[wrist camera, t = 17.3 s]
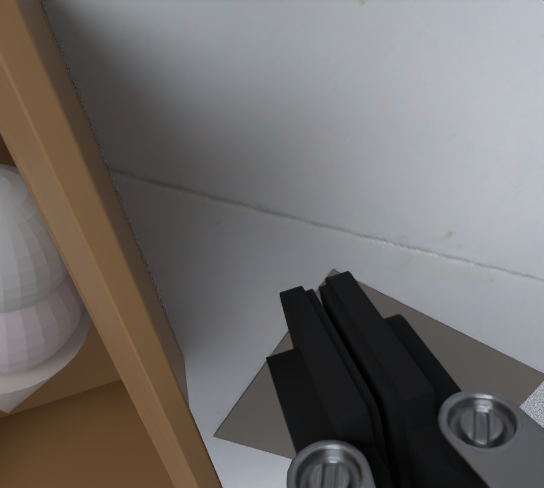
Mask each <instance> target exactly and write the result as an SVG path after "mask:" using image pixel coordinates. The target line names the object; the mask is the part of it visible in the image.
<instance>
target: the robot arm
mask: <svg viewBox="0 0 544 488" xmlns="http://www.w3.org/2000/svg"><path fill="white" fill-rule="evenodd" d="M325 282H326V285H323V286H320V287H319V292H320V297H321V302H322V304H321V302H320V301H319V299H318V297H317V295H316V294H315V292H314V290H313V289H310V290H307V291H305V290H304V288H303V286H299V287H296V288H293V289H290V290H287V291H283V292H280V299H281V303H282V307H283V310H284V314H285V318H286V322H287V326H288V329H289V333H290V337H291V341H292V345H293V349H290V350H287V351H284V352H281V353H278V354H275V355H272V356H269V357H266V360H267V364H268V367H269V370H270V374H271V377H272V380H273V384H274V387H275V390H276V393H277V397H278V400H279V403H280V406H281V409H282V412H283V415H284V419H285V422H286V425H287V428H288V431H289V434H290V437H291V440H292V443H293V446H294V449H295V452H296V457H295V458H294V459H293V460H292V462H291V464H290V467H289V469H288V472H287V488H544V428H543V427H541V426H540V425H539V424H538V423H537V422H536V421H534V420H533V419H532V418H531V417H530V416H529V415H527V414H526V413H525V412H524V411H523V410H522V409H520V408H519V407H518V406H517V405H516V404H515V403H513V402H512V401H510V400H509V399H507V398H506V397H504V396H502V395H500V394H497V393H494V392H491V391H485V390H478V389H477V390H465V391H462V390H461V389H460V388H459V386H458V385H457V384H456V383H455V381H454V380H453V379H452V377H451V376H450V375H449V374H448V372H447V371H446V370H445V369H444V367H443V366H442V365H441V363H440V362H439V361H438V360H437V358H436V357H435V356H434V355H433V353H432V352H431V351H430V349H429V348H428V347H427V346H426V344H425V343H424V342H423V341H422V339H421V338H420V337H419V336H418V334H417V333H416V332H415V330H414V329H413V328H412V327H411V325H410V324H409V323H408V322H407V320H406V319H405V318H404V317H403V316H402V315H400V314H396V315H393V316H390V317H387V318H384V319H383V317H382V316H381V315H380V313H379V312H378V310H377V309H376V308H375V306H374V305H373V303H372V302H371V301H370V299H369V298H368V297H367V295H366V294H365V292H364V291H363V290H362V288H361V287H360V285H359V284H358V283H357V281H356V280H355V279H354V277H353V276H352V274H351V273H350V272H349V271H346V272H343V273H340V274H337V275H334V276H330V277H327V278H326V279H325Z"/></svg>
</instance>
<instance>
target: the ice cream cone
mask: <svg viewBox="0 0 544 488" xmlns="http://www.w3.org/2000/svg"><path fill="white" fill-rule="evenodd" d="M90 321H91V316H90V314H89V312H88V310H87V308H86V306H85V304H84V302H83V300H82V298H81V296H80V294H79V292H78V290H77V288H76V286H75V284H74V282H73V280H72V278H71V276H70V274H69V272H68V269H67V267H66V265H65V263H64V261H63V259H62V257H61V255H60V253H59V251H58V249H57V247H56V245H55V243H54V241H53V239H52V237H51V235H50V233H49V231H48V229H47V227H46V225H45V223H44V221H43V219H42V217H41V215H40V213H39V211H38V209H37V207H36V205H35V203H34V200H33V198H32V196H31V194H30V192H29V190H28V188H27V186H26V184H25V182H24V180H23V178H22V176H21V174H20V172H19V170H18V168H17V167H15V166H12V165H6V164H0V410H2V411H4V412H7V413H9V412H11V411H12V410H13V409H14V408H15V407H17V406H18V405H19V404H20V403H21V402H23V401H24V400H25V399H26V398H27V397H29V396H30V395H31V394H32V393H34V392H35V391H36V390H37V389H38V388H40V387H41V386H42V385H43V384H44V383H46V382H47V381H48V380H49V379H50V378H52V377H53V376H54V375H55V374H56V373H58V372H59V371H60V370H61V369H62V368H64V367H65V366H66V365H67V364H68V363H69V362H70V361H71V360H72V359H73V358H74V357H75V355H76V354H77V352H78V351H79V350H80V348H81V347H82V345H83V344H84V341H85V339H86V336H87V334H88V331H89V328H90Z"/></svg>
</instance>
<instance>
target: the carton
mask: <svg viewBox="0 0 544 488" xmlns="http://www.w3.org/2000/svg"><path fill="white" fill-rule="evenodd" d="M18 1H19V4H20V6H21V8H22V11H23V13H24V15H25V18H26V20H27V23H28V25H29V27H30V30H31V32H32V35H33V37H34V39H35V42H36V44H37V46H38V49H39V51H40V54H41V56H42V58H43V61H44V63H45V66H46V68H47V70H48V73H49V75H50V77H51V80H52V82H53V85H54V87H55V89H56V92H57V94H58V96H59V99H60V101H61V104H62V106H63V108H64V111H65V113H66V116H67V118H68V120H69V123H70V125H71V127H72V130H73V132H74V135H75V137H76V139H77V142H78V144H79V147H80V149H81V151H82V154H83V156H84V158H85V161H86V163H87V166H88V168H89V170H90V173H91V175H92V177H93V180H94V182H95V185H96V187H97V189H98V192H99V194H100V197H101V199H102V201H103V204H104V206H105V208H106V211H107V213H108V216H109V218H110V220H111V223H112V225H113V227H114V230H115V232H116V235H117V237H118V239H119V242H120V244H121V247H122V249H123V251H124V254H125V256H126V258H127V261H128V263H129V266H130V268H131V270H132V273H133V275H134V278H135V280H136V282H137V285H138V287H139V289H140V292H141V294H142V297H143V299H144V301H145V304H146V306H147V308H148V311H149V313H150V316H151V318H152V320H153V323H154V325H155V328H156V330H157V332H158V335H159V337H160V339H161V342H162V344H163V347H164V349H165V351H166V354H167V356H168V359H169V361H170V363H171V366H172V368H173V370H174V373H175V375H176V378H177V380H178V382H179V385H180V387H181V389H182V392H183V394H184V397H185V399H186V401H187V404H188V406H189V400H188V391H187V382H186V372H185V363H184V359H183V356H182V354H181V351H180V349H179V346H178V344H177V341H176V339H175V336H174V334H173V331H172V329H171V326H170V324H169V321H168V319H167V316H166V314H165V311H164V309H163V306H162V304H161V301H160V299H159V296H158V294H157V291H156V289H155V286H154V284H153V281H152V279H151V276H150V274H149V271H148V269H147V266H146V264H145V261H144V259H143V256H142V254H141V251H140V249H139V246H138V244H137V241H136V239H135V236H134V234H133V231H132V229H131V226H130V224H129V221H128V219H127V216H126V214H125V211H124V209H123V206H122V204H121V201H120V199H119V196H118V194H117V191H116V189H115V186H114V184H113V181H112V179H111V176H110V174H109V171H108V169H107V166H106V164H105V161H104V159H103V156H102V154H101V151H100V149H99V146H98V144H97V141H96V139H95V136H94V134H93V131H92V129H91V126H90V124H89V121H88V119H87V116H86V114H85V111H84V109H83V106H82V104H81V101H80V99H79V96H78V94H77V91H76V89H75V86H74V84H73V81H72V79H71V76H70V74H69V71H68V69H67V67H66V64H65V62H64V59H63V57H62V54H61V52H60V49H59V47H58V44H57V42H56V39H55V37H54V34H53V32H52V29H51V27H50V24H49V22H48V19H47V17H46V14H45V12H44V9H43V7H42V4H41V2H40V0H18ZM0 164H6V165H12V166H15V167H17V168H18V170H19V172H20V174H21V176H22V178H23V180H24V182H25V184H26V186H27V188H28V190H29V192H30V194H31V196H32V198H33V200H34V203H35V205H36V207H37V209H38V211H39V213H40V215H41V217H42V219H43V221H44V223H45V225H46V227H47V229H48V231H49V233H50V235H51V237H52V239H53V241H54V243H55V245H56V247H57V249H58V251H59V253H60V255H61V257H62V259H63V261H64V263H65V265H66V267H67V269H68V272H69V274H70V276H71V278H72V280H73V282H74V284H75V286H76V288H77V290H78V292H79V294H80V296H81V298H82V300H83V302H84V304H85V306H86V308H87V310H88V312H89V314H90V316H91V321H90V328H89V331H88V334H87V336H86V339H85V341H84V344H83V345H82V347H81V348H80V350H79V351H78V352H77V354H76V355H75V357H74V358H73V359H72V360H71V361H70V362H69V363H68V364H67V365H66V366H65V367H64V368H62V369H61V370H60V371H59V372H58V373H56V374H55V375H54V376H53V377H52V378H50V379H49V380H48V381H47V382H46V383H44V384H43V385H42V386H41V387H40V388H38V389H37V390H36V391H35V392H34V393H32V394H31V395H30V396H29V397H27V398H26V399H25V400H24V401H23V402H21V403H20V404H19V405H18V406H17V407H15V408H14V409H13V410H12V411H11V412H9V413H7V412H4V411H2V410H0V488H178V487H177V485H176V483H175V481H174V479H173V477H172V475H171V473H170V471H169V469H168V467H167V465H166V463H165V461H164V458H163V456H162V454H161V452H160V450H159V448H158V446H157V444H156V442H155V440H154V438H153V436H152V434H151V432H150V430H149V428H148V426H147V424H146V422H145V420H144V418H143V416H142V413H141V411H140V409H139V407H138V405H137V403H136V401H135V399H134V397H133V395H132V393H131V391H130V389H129V387H128V385H127V383H126V381H125V379H124V377H123V375H122V373H121V370H120V368H119V366H118V364H117V362H116V360H115V358H114V356H113V354H112V352H111V350H110V348H109V346H108V344H107V342H106V340H105V338H104V336H103V334H102V332H101V330H100V328H99V325H98V323H97V321H96V319H95V317H94V315H93V313H92V311H91V309H90V307H89V305H88V303H87V301H86V299H85V297H84V295H83V293H82V291H81V289H80V287H79V285H78V282H77V280H76V278H75V276H74V274H73V272H72V270H71V268H70V266H69V264H68V262H67V260H66V258H65V256H64V254H63V252H62V250H61V248H60V246H59V244H58V242H57V240H56V237H55V235H54V233H53V231H52V229H51V227H50V225H49V223H48V221H47V219H46V217H45V215H44V213H43V211H42V209H41V207H40V205H39V203H38V201H37V199H36V197H35V194H34V192H33V190H32V188H31V186H30V184H29V182H28V180H27V178H26V176H25V174H24V172H23V170H22V168H21V166H20V164H19V162H18V160H17V158H16V156H15V154H14V152H13V149H12V147H11V145H10V143H9V141H8V139H7V137H6V135H5V133H4V131H3V129H2V127H1V125H0Z"/></svg>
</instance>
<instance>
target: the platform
mask: <svg viewBox="0 0 544 488" xmlns="http://www.w3.org/2000/svg"><path fill="white" fill-rule="evenodd" d="M337 274H340V272H338V271H336V270H334V269H333V270H332V271H331V273H330V274H329V276H328V277H330V276H334V275H337ZM357 283H358V284H359V285H360V287H361V288H362V290H363V291H364V292H365V294H366V295H367V297H368V298H369V299H370V301H371V302H372V303H373V305H374V306H375V308H376V309H377V310H378V312H379V313H380V315H381V316H382V317H383V319H384V318H387V317H390V316H393V315H396V314H400V315H402V316H403V317H404V318H405V319H406V320H407V322H408V323H409V324H410V325H411V327H412V328H413V329H414V330H415V332H416V333H417V334H418V336H419V337H420V338H421V339H422V341H423V342H424V343H425V344H426V346H427V347H428V348H429V349H430V351H431V352H432V353H433V355H434V356H435V357H436V358H437V360H438V361H439V362H440V363H441V365H442V366H443V367H444V369H445V370H446V371H447V372H448V374H449V375H450V376H451V377H452V379H453V380H454V381H455V383H456V384H457V385H458V386H459V388H460V389H461V390H462V391H465V390H477V389H478V390H485V391H491V392H494V393H497V394H500V395H502V396H504V397H506V398H507V399H509V400H510V401H512V402H513V403H515V404H516V405H517V406H518V407H520V406H521V405H522V404H523V402H524V401H525V400H526V399H527V398H528V397H529V396H530V395H531V394H532V393H533V392H534V391H535V390H536V388H537V387H538V386H539V385H540V384H541V383H542V382H543V381H544V374H543V373H541V372H539V371H537V370H535V369H533V368H531V367H529V366H527V365H525V364H523V363H521V362H519V361H517V360H515V359H513V358H511V357H509V356H507V355H505V354H503V353H501V352H499V351H497V350H495V349H493V348H490V347H488V346H486V345H484V344H482V343H480V342H478V341H476V340H474V339H472V338H470V337H468V336H466V335H464V334H462V333H460V332H458V331H456V330H454V329H452V328H450V327H448V326H446V325H444V324H442V323H440V322H438V321H436V320H434V319H432V318H430V317H428V316H426V315H424V314H422V313H420V312H418V311H416V310H414V309H412V308H410V307H408V306H406V305H404V304H402V303H400V302H398V301H396V300H394V299H392V298H390V297H388V296H386V295H384V294H382V293H380V292H378V291H376V290H374V289H372V288H370V287H368V286H366V285H364V284H362V283H360V282H358V281H357ZM323 285H326V282H325V281H324V283H323V284H322V285H321V286H323ZM316 295H317V297H318V299H319V301H320V302H321V297H320V292H319V290H318V291H317V292H316ZM321 304H322V302H321ZM290 349H293V345H292V341H291V337H290V333H289V332H288V333H287V334H286V336H285V337H284V339H283V340H282V341H281V343H280V344H279V345H278V347H277V348H276V350H275V351H274V352H273V354H272V355H275V354H278V353H281V352H284V351H287V350H290ZM272 355H271V356H272ZM214 437H217V438H221V439H224V440H228V441H231V442H235V443H238V444H242V445H245V446H249V447H252V448H256V449H259V450H263V451H266V452H269V453H273V454H276V455H280V456H283V457H287V458H290V459H294V458H295V457H296V452H295V449H294V446H293V443H292V440H291V437H290V434H289V431H288V428H287V425H286V422H285V419H284V415H283V412H282V409H281V406H280V403H279V400H278V397H277V393H276V390H275V387H274V384H273V380H272V377H271V374H270V370H269V367H268V364H267V362H266V364H265V365H264V366H263V368H262V369H261V371H260V372H259V373H258V375H257V376H256V378H255V379H254V380H253V382H252V383H251V385H250V386H249V387H248V389H247V390H246V392H245V393H244V394H243V396H242V397H241V399H240V400H239V401H238V403H237V404H236V406H235V407H234V408H233V410H232V411H231V413H230V414H229V415H228V417H227V418H226V420H225V421H224V422H223V424H222V425H221V426H220V428H219V429H218V431H217V432H216V433H215V435H214Z"/></svg>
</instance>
